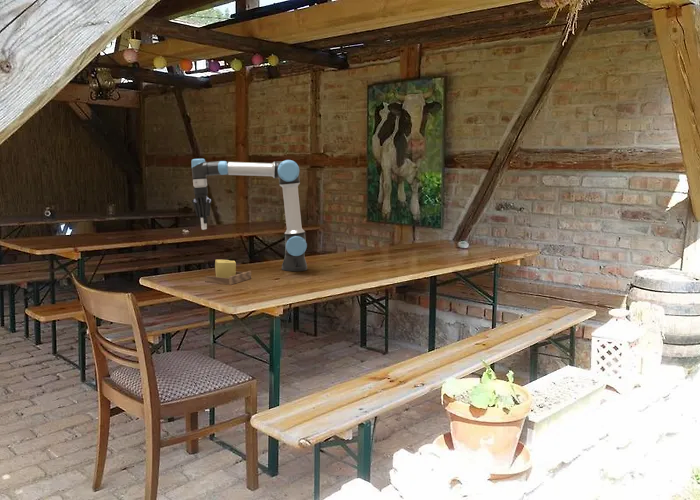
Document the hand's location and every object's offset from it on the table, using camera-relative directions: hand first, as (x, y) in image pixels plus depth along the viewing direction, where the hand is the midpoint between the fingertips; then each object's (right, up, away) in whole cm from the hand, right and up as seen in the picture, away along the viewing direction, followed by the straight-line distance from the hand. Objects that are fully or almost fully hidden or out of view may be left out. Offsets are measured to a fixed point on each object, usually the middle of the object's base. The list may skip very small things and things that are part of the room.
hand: (204, 229), depth 340 cm
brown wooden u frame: (+16, -27, -16) cm, 36 cm away
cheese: (+15, -27, -13) cm, 34 cm away
